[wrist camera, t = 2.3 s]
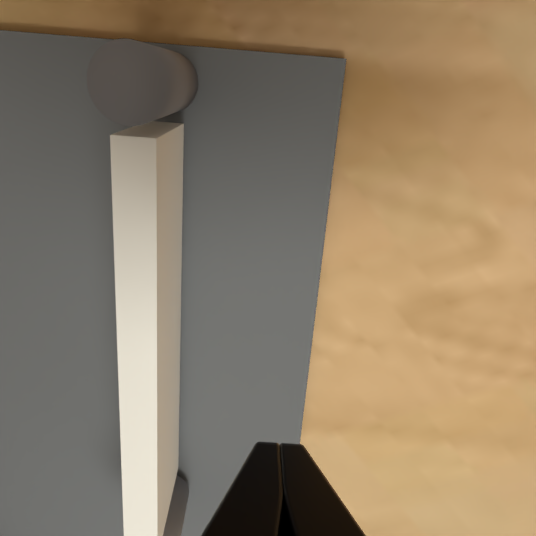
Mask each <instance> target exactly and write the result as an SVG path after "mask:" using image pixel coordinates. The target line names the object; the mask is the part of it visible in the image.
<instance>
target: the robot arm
mask: <svg viewBox="0 0 536 536" xmlns="http://www.w3.org/2000/svg"><path fill="white" fill-rule="evenodd" d="M201 536H366V535H365V534H364V533H363V531H362V530H361V528H360V527H359V525H358V524H357V522H356V521H355V520H354V518H353V517H352V515H351V514H350V512H349V511H348V509H347V508H346V506H345V505H344V504H343V502H342V501H341V499H340V498H339V496H338V495H337V493H336V492H335V490H334V489H333V488H332V486H331V485H330V483H329V482H328V480H327V479H326V477H325V476H324V475H323V473H322V472H321V470H320V469H319V467H318V466H317V464H316V463H315V461H314V460H313V459H312V457H311V456H310V454H309V453H308V451H307V450H306V448H305V447H304V446H303V445H302V444H293V443H281V444H280V445H279V444H278V443H276V442H257V443H256V444H255V445H254V447H253V448H252V450H251V452H250V453H249V455H248V457H247V458H246V460H245V462H244V463H243V465H242V467H241V469H240V470H239V472H238V474H237V475H236V477H235V479H234V480H233V482H232V484H231V485H230V487H229V489H228V490H227V492H226V494H225V496H224V497H223V499H222V501H221V502H220V504H219V506H218V507H217V509H216V511H215V512H214V514H213V516H212V517H211V519H210V521H209V522H208V524H207V526H206V528H205V529H204V531H203V533H202V534H201Z"/></svg>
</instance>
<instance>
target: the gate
mask: <svg viewBox="0 0 536 536" xmlns="http://www.w3.org/2000/svg"><path fill="white" fill-rule="evenodd" d="M183 146H184V123H171V122H158V121H151V122H149V123H146V124H143V125H140V126H133V127H130V128H128V129H125V130H122V131H119V132H117V133H114V134H111V135H110V151H111V180H112V209H113V238H114V267H115V296H116V325H117V354H118V383H119V412H120V441H121V470H122V499H123V528H124V536H181V534H182V528H183V523H184V518H185V512H186V507H187V502H188V496H189V488H188V485H187V483H186V482H185V481H184V480H183V479H182V478H181V477H179V476H178V475H177V471H178V457H179V395H180V333H181V270H182V208H183Z"/></svg>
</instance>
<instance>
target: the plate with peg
mask: <svg viewBox="0 0 536 536" xmlns="http://www.w3.org/2000/svg"><path fill="white" fill-rule="evenodd" d="M345 65H346V59H344V58H332V57H319V56H307V55H295V54H283V53H271V52H259V51H247V50H235V49H223V48H211V47H199V46H186V45H174V44H162V43H150V42H140V41H136V40H133V39H115V40H114V39H102V38H90V37H78V36H66V35H53V34H41V33H29V32H17V31H5V30H0V536H124V528H123V499H122V470H121V441H120V412H119V383H118V354H117V325H116V296H115V267H114V238H113V209H112V180H111V151H110V135H111V134H114V133H117V132H119V131H122V130H125V129H128V128H130V127H133V126H140V125H143V124H146V123H149V122H151V121H158V122H171V123H184V146H183V208H182V270H181V333H180V395H179V457H178V471H177V475H178V476H179V477H181V478H182V479H183V480H184V481H185V482H186V483H187V485H188V488H189V496H188V502H187V507H186V512H185V518H184V523H183V528H182V534H181V536H201V534H202V533H203V531H204V529H205V528H206V526H207V524H208V522H209V521H210V519H211V517H212V516H213V514H214V512H215V511H216V509H217V507H218V506H219V504H220V502H221V501H222V499H223V497H224V496H225V494H226V492H227V490H228V489H229V487H230V485H231V484H232V482H233V480H234V479H235V477H236V475H237V474H238V472H239V470H240V469H241V467H242V465H243V463H244V462H245V460H246V458H247V457H248V455H249V453H250V452H251V450H252V448H253V447H254V445H255V444H256V443H257V442H276V443H278V444H279V445H280V444H281V443H293V444H300V437H301V429H302V420H303V412H304V404H305V396H306V387H307V379H308V371H309V363H310V354H311V346H312V338H313V330H314V321H315V313H316V305H317V297H318V288H319V280H320V272H321V264H322V255H323V247H324V239H325V231H326V222H327V214H328V206H329V198H330V189H331V181H332V173H333V165H334V156H335V148H336V140H337V131H338V123H339V115H340V107H341V98H342V90H343V82H344V74H345Z"/></svg>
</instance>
